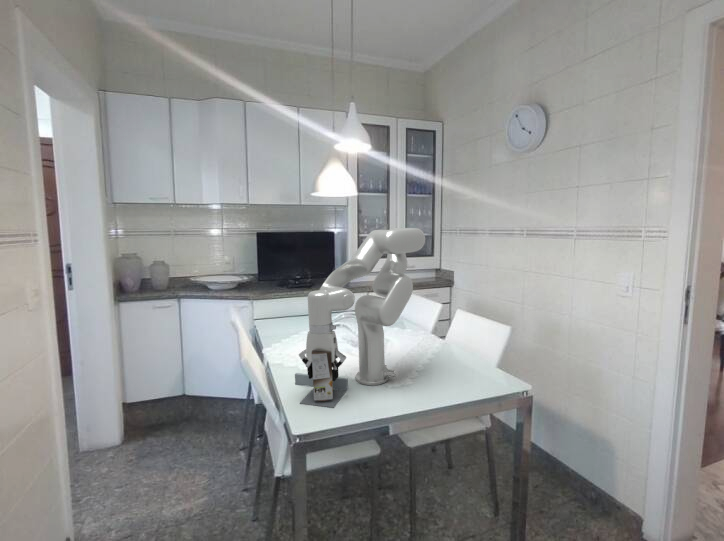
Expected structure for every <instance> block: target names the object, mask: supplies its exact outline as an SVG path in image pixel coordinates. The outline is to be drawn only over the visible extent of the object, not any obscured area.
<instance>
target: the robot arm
mask: <svg viewBox="0 0 724 541" xmlns="http://www.w3.org/2000/svg"><path fill="white" fill-rule="evenodd" d="M425 244H426V235H425V233H424V232H423V230H421V228H418V227H417V228H416V227H394V228H393V227H392V228H391V229H374V230H372V231H370V232H369V233H368V234H367V236H366V237H365V238H364V240H363V241H362V242H361V244H360V246H359V247H357V250H356V251H355V253H354V254H353V256H352V257H351V258H350V259H349V260H346V262H344V263H343V264H341V265H340V266H338V267H337V268H336V269H334V270H333V271H332V272H331V273H330V274H329V275H328V276H327V278H326V279H325V280H324V282H323V283H322V285H321V286H320V287H319V289H318V290H317V289H316V290H312V291H310V292H309V293H308V294H307V310H308V311H307V312H308V331H307V335H306V345H305V349H304V350H303V351H301V352H300V353H299V354H298V357H299V358H300V359H301V361H302V363H303V364H304V365H305V368H306V371H307V374H308V375H309V379H311V378H312V377H313V370H312V351H326V352H331V363H332V381H335V380H336V379H337V378H338V377H339V375H340V374H339V368H340V366H342V364H343V363H344V362H345V360H346V359H347V356H346V355H345V354H343V352H340V351H339V346H338V339H337V335H336V332H335V330H336V329H337V326H336V325H334V324H333V318H332V317H333V316H332V312H342V311H347V310H349V309H351V308H352V307H353V306H354V314H355V319H356V323H357V335H358V336H357V338H358V340H357V341H358V365H359V368H358V369H359V370H358V372H357V373H355V375H354V376H355V378H354V379H355V380H356V382H358V383H359V384H360V385H366V386H378V385H382V384H384V383H387V382H388V381H389V380H390V377H391V378H397V372H396V371H395V369H388V365H387V364H386V362H385V360H386V358H385V332H384V327H391V326H393V325H394V324H396V322H397V321H398V320H399V318H400V316H401V315H402V313H403V311H404V309H405V307H406V306H407V304H408V302H409V300H410V298H411V297H412V295H413V294H412V293H413V289H414V282H413V280H412V278H411V277H410V276H409V275H407V274H406V273H405V272H406V271H407V268H408V258H407V255H406V254H407V253H416V252H418V251H420V250H421V249H422V248H423V247H424V245H425ZM384 254H386V255H387V256H386V260H385V262H384V263H383V266H382V267H381V268H380V270H379V271H378V274H377V275H376V277H375V279H374V280H373V283H372V284H371V285H372V286H371V287H372V288H371V289H372V292H374V294H376V295H372V294H365V295H364V294H363V295H362V296H360V297H359V298H358V299H356V298H355V294H354V293H353V292H352V290H350V289H348V288H346V287H344V286H346V285H347V284H348V283H350V282H351V281H354V280H357V279H359V278H363V277H365V276H367V275H369V274H371V273H372V271H373V270H374V268H375V267H376V266H377V264H378V262H379V261H380V259H381V258H382V257H383V255H384ZM355 300H356V301H355ZM338 358H339V361H338V360H337V359H338Z"/></svg>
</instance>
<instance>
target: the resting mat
mask: <svg viewBox="0 0 724 541" xmlns="http://www.w3.org/2000/svg"><path fill="white" fill-rule="evenodd" d="M346 393H347V390H339V389H333V399H329V400H314V389H313V388H312V389H311V390H310V391H309V392H308V393H307V395H305V397H303V399H302V400H301V401H300V402H299V404H300V405H305V406H306V405H307V406H313V407H323V408H329V409H335V407H336V406H337V404H338V403H339V402H340V400H341V399H342V398H343V397H344V396H345V394H346Z"/></svg>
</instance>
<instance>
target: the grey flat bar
mask: <svg viewBox="0 0 724 541" xmlns="http://www.w3.org/2000/svg"><path fill="white" fill-rule="evenodd" d="M348 379H349V378H348V377H341V376H340V377H339V376H338V378H337V379H336V380H335V381H333V389H336V390H345V391H348V389H349V380H348ZM294 384H295V386H296V385H297V386H303V387H304V386H306V387H313V377H312V378H311V379H309V375H308V373H302V372H301V373H300V372H295V373H294Z"/></svg>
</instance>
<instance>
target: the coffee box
mask: <svg viewBox="0 0 724 541" xmlns="http://www.w3.org/2000/svg"><path fill="white" fill-rule="evenodd" d="M312 370H313V386H312V387H313V388H312V389H314V400H329V399H333V381H332V370H333V367H332V363H331V352H326V351H312Z"/></svg>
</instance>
